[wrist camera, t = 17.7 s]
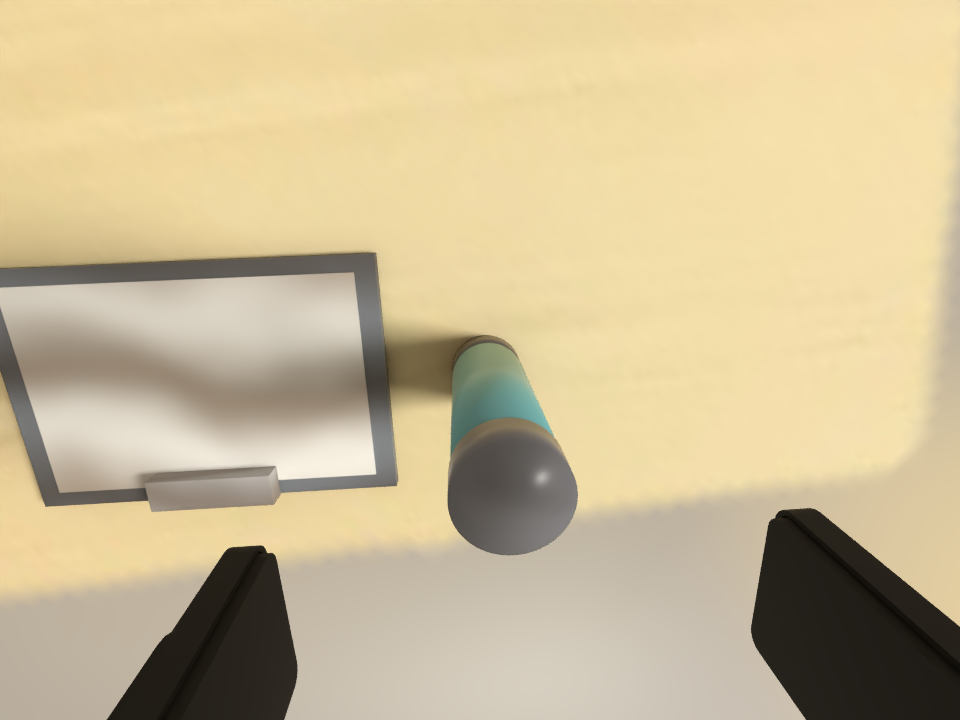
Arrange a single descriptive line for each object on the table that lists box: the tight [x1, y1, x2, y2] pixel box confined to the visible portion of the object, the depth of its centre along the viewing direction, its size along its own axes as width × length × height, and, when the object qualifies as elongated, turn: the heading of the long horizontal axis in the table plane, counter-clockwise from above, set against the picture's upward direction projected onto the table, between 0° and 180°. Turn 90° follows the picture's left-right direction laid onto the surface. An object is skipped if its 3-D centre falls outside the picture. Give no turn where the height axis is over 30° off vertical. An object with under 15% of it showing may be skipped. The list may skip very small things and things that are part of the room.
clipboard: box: [0, 253, 398, 512], centre depth 23 cm, size 12×18×2 cm, turn 92°
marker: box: [448, 336, 578, 555], centre depth 19 cm, size 4×4×12 cm
